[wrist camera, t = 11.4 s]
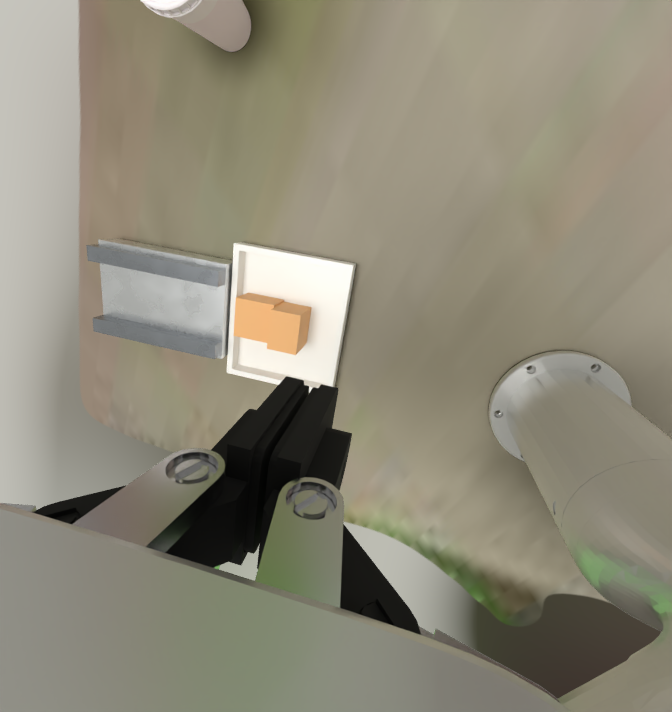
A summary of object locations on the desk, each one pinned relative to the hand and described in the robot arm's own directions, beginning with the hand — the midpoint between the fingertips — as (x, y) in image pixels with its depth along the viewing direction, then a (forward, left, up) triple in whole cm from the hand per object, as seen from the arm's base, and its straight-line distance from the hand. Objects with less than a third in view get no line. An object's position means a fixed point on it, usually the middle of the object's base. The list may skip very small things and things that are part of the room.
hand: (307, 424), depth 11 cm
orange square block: (+3, +10, -24) cm, 27 cm away
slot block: (+12, +19, -27) cm, 35 cm away
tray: (+3, +10, -27) cm, 29 cm away
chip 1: (+5, +11, -26) cm, 29 cm away
